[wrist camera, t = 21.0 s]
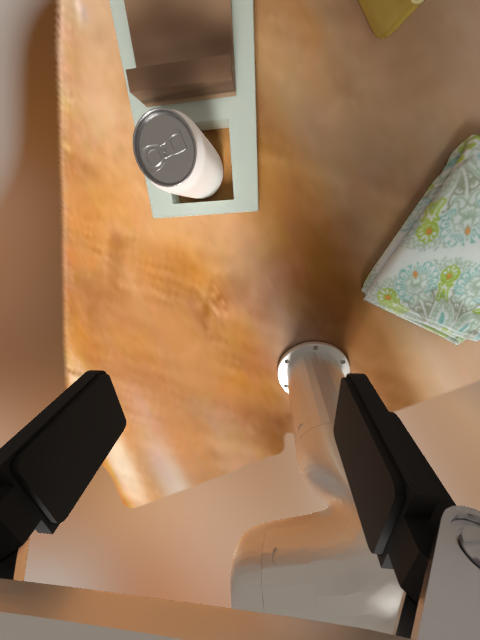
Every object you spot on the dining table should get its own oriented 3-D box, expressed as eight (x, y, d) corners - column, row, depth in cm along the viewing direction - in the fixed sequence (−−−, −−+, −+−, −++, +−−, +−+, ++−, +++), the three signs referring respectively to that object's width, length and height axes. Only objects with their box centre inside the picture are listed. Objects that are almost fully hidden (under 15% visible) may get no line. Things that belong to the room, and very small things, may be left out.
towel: (351, 294, 36) (363, 306, 31) (458, 137, 27) (498, 121, 22) (449, 338, 37) (475, 356, 33) (581, 203, 28) (643, 201, 24)
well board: (258, 211, 32) (258, 211, 29) (162, 217, 33) (153, 218, 31) (253, -6, 23) (251, -35, 21) (124, 17, 25) (107, -7, 22)
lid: (236, 95, 24) (231, 77, 21) (147, 107, 25) (129, 92, 22) (229, -37, 20) (222, -83, 17) (125, -16, 22) (100, -56, 18)
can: (167, 157, 30) (112, 127, 19) (210, 131, 28) (176, 81, 18) (191, 207, 32) (154, 205, 22) (232, 185, 31) (214, 170, 20)
